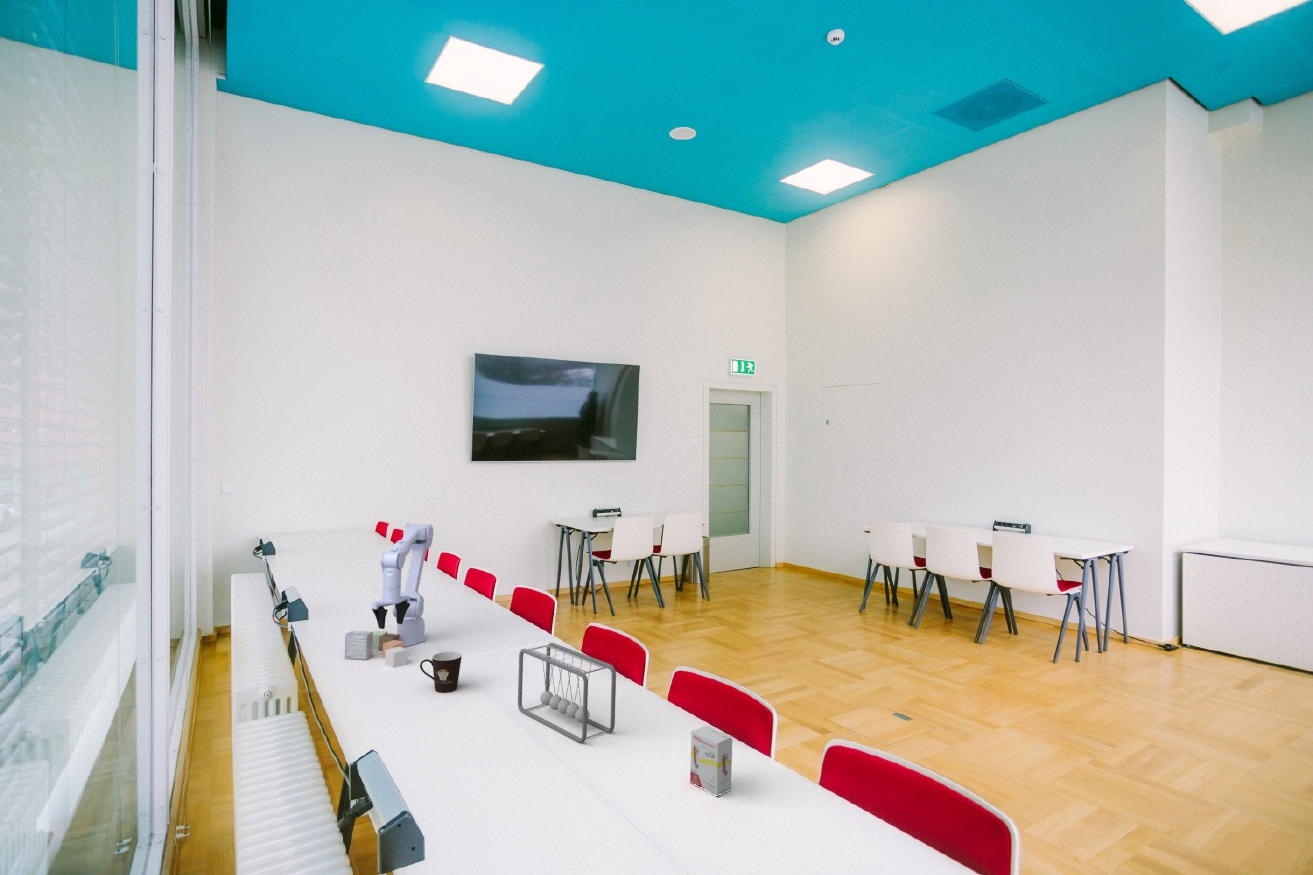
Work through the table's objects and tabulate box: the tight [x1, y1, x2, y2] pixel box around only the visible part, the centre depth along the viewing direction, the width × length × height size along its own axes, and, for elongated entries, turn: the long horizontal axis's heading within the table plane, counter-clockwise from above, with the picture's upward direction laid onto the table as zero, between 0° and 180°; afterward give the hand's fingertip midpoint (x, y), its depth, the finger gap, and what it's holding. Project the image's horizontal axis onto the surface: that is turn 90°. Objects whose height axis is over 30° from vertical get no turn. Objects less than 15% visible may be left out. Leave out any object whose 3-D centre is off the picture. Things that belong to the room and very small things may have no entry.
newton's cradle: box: [517, 642, 617, 744], centre depth 184 cm, size 30×10×18 cm, turn 45°
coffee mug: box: [419, 651, 463, 694], centre depth 206 cm, size 12×9×10 cm
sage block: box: [372, 630, 389, 650], centre depth 246 cm, size 5×5×5 cm
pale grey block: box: [384, 647, 409, 669], centre depth 227 cm, size 5×5×5 cm
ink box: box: [689, 725, 733, 795], centre depth 151 cm, size 9×5×12 cm, turn 42°
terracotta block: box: [382, 640, 406, 659], centre depth 235 cm, size 5×5×5 cm
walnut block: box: [378, 632, 400, 652], centre depth 243 cm, size 5×5×5 cm
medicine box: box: [344, 630, 374, 661], centre depth 233 cm, size 8×4×9 cm, turn 84°
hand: (390, 626), depth 235 cm, fingers open, 7 cm apart
